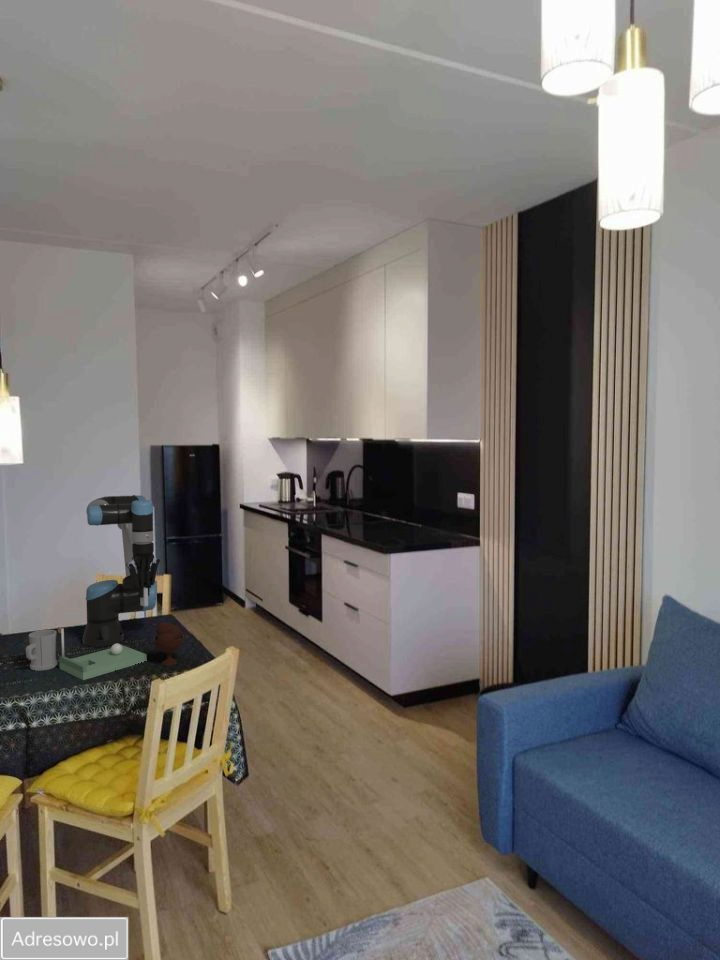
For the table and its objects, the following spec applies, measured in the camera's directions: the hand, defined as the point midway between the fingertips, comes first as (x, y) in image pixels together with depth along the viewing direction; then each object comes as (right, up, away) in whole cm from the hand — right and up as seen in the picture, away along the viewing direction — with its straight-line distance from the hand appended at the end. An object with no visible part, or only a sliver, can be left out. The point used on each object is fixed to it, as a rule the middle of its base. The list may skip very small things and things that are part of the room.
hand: (144, 605), depth 249 cm
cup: (-31, -19, -14) cm, 39 cm away
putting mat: (-11, -19, -11) cm, 25 cm away
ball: (-7, -14, -8) cm, 18 cm away
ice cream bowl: (+12, -19, -9) cm, 24 cm away
